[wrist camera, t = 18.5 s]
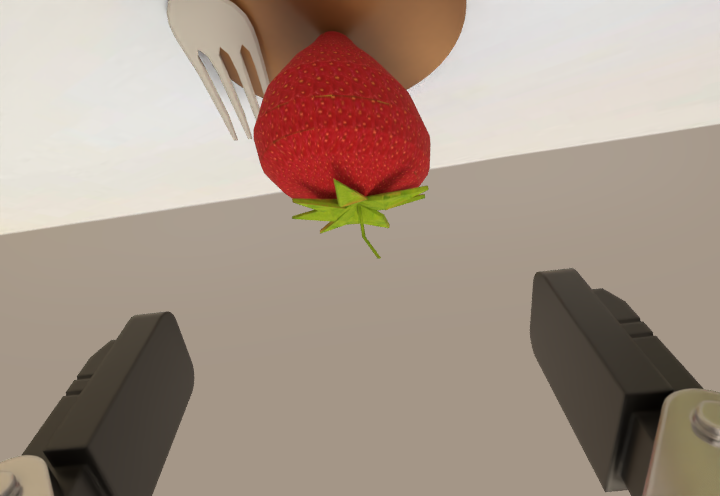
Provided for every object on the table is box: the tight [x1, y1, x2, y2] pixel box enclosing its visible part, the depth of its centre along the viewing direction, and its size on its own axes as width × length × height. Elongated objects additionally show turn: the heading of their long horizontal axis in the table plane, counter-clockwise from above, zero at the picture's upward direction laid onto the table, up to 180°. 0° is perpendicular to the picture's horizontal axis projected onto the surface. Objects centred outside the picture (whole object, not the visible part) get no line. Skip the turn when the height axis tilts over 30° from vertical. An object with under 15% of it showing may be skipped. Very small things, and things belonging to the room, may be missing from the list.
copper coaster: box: [219, 0, 466, 98], centre depth 20 cm, size 11×11×1 cm
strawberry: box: [254, 31, 430, 258], centre depth 18 cm, size 6×8×10 cm
